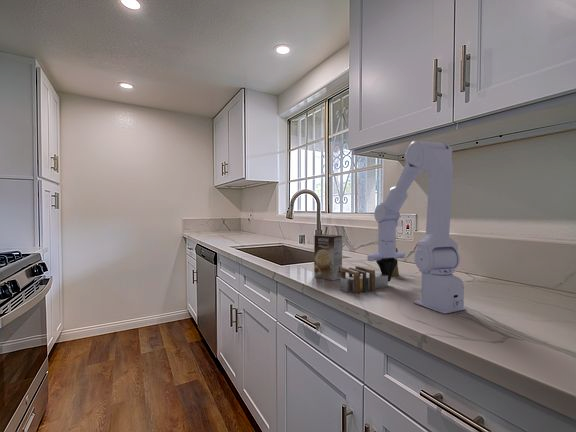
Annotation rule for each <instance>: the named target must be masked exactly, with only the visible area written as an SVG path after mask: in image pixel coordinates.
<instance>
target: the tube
mask: <svg viewBox="0 0 576 432" xmlns="http://www.w3.org/2000/svg"><path fill="white" fill-rule="evenodd" d="M339 281H340V285H339V286H340V290H341V291H343V292H346V293H352V292H353V293H354V275H352V276H350V277H349V276H346V277H342V278H339ZM388 284H389V282H388V275H385V274H382V273H380V272H378V273H377V272H376V273H375V290H376V289H382V288H388V287H389V285H388ZM367 290H368V291H369V273H367V274H366V291H367ZM361 291H362V292H363V274H361V275H359V292H361Z"/></svg>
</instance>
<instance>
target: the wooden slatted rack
mask: <svg viewBox="0 0 576 432" xmlns="http://www.w3.org/2000/svg"><path fill="white" fill-rule="evenodd" d="M346 274H348V277H350V276H354V292H353V293H354V294H355V295H357V294H360V291H359V275H363V290H362V293H367V290H366V275H367V274H369V290H368V291H370V292H376V289H375V274H376V270H374V269H371V268H367V267H365V266H364V267H363V266H360V265H355V268H354V267H345V266H342V267H341V268H340V278H342V277H347V276H346ZM340 278H339V279H340Z"/></svg>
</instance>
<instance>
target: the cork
mask: <svg viewBox="0 0 576 432" xmlns="http://www.w3.org/2000/svg"><path fill="white" fill-rule="evenodd" d="M396 252H399V250H398V248H397V247H396ZM395 260H397V261H398V259H395ZM398 275H400V274H399V266H398V263H397V265H396V266H395V268H394V270H393V273H392V276H391V277H398Z"/></svg>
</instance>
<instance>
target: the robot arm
mask: <svg viewBox="0 0 576 432" xmlns="http://www.w3.org/2000/svg"><path fill="white" fill-rule="evenodd" d="M452 159H453V147H451V146H450V145H448V143H446V142H434V141H433V142H432V141H431V142H430V141H420V140H413V141H411V143H410V144H409V145H408V147H407V149H406V152H405V154H404V161H405V163H404V164H405V165H404V167H403V169H402V171H401V174H400V175H399V178H398V181H397V183H396V185H395V186H392V187H391V188H389V191H388V192H387V194H386V196H385V198H384V200H383V202H381V203H380V204H378V205H376V207H375V209H374V219H375V221H376V222H377V252H376V253H370V254H367V261H368V262H374V261H375V262H376V265H378V267H379V270H380V272H381V274H385V275H388V283H389V282H391V279H392V277H393V276H392V273H393V270H394V268H395V266H396V265H397V264H398V262H399V261H398V260H399V259H406V253H405V252H402V251H400V252H399V251H398V252H396V248H397V244H396V243H397V239H396V238H397V230H396V229H397V227H398V225H399V224H398V223H399V220H400V218H401V213H400V211H401V208H402V207H403V205H404V203H405V202H406V200H407V198H408V196H409V195H408V194H409V193H408V192H407V190H408V189H410V186H411V185H412V183H413V182H414V181H415V179H416V178H417V177H418V175H419V174H420V173H422V172H424V173H425V174H426V175H428V185H427V187H428V188H427V190H428V191H427V204H426V205H427V207H426V208H427V209H426V222H425V223H426V225H425V227H426V228H425V235H424V236H422V238H421V239H420V240H418V241H417V248H416V250H415V253H414V259H413V260H414V263H415V265H416V267H417V268H418V272H421V299H417V300H414V301H413V303H414V304H416V305H418V306H422V307H425V308H427V309H430V310H432V311H436V312H437V313H441V314H449V313H450V314H451V313H454V312H455V313H456V312H460V311H463V310H466V308H467V307H466V306H465V304H464V303H465V299H464V297H465V287H464V286H465V285H464V281H463V280H462V279H461V278H460V277H458V276H456V275H455V274H454V273H456V272H455V269H457V268H458V267H459V265H460V263H461V262H460V261H461V258H460V257H461V256H460V253H459V250H458V246H459V244H458V243H457V242H456V241H455V240H454V239H453V238H452V237H450V227H451V213H452V212H451V210H452V194H453V177H454V176H453V175H454V164H453V161H452ZM395 259H397V260H395Z"/></svg>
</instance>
